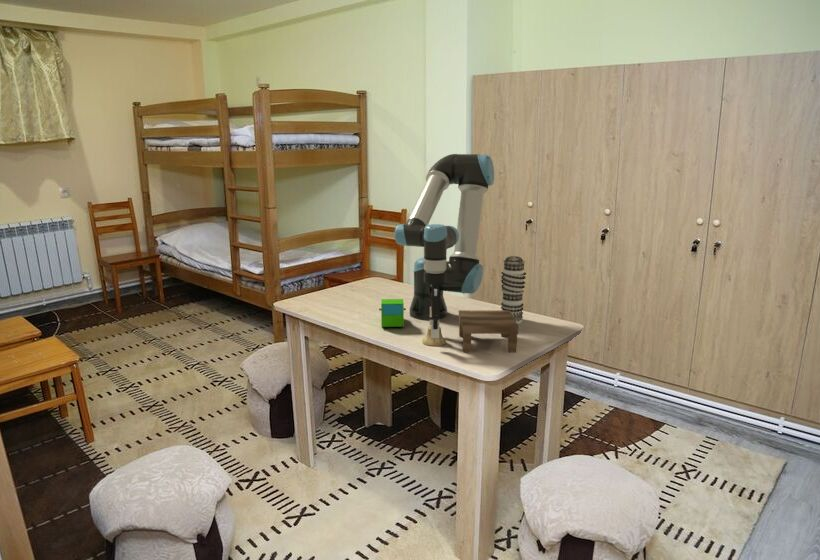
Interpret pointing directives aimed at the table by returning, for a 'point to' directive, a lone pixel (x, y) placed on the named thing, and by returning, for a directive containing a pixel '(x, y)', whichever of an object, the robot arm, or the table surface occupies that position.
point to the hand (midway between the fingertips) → (434, 331)
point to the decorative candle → (513, 287)
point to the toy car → (392, 313)
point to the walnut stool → (487, 326)
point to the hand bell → (433, 341)
